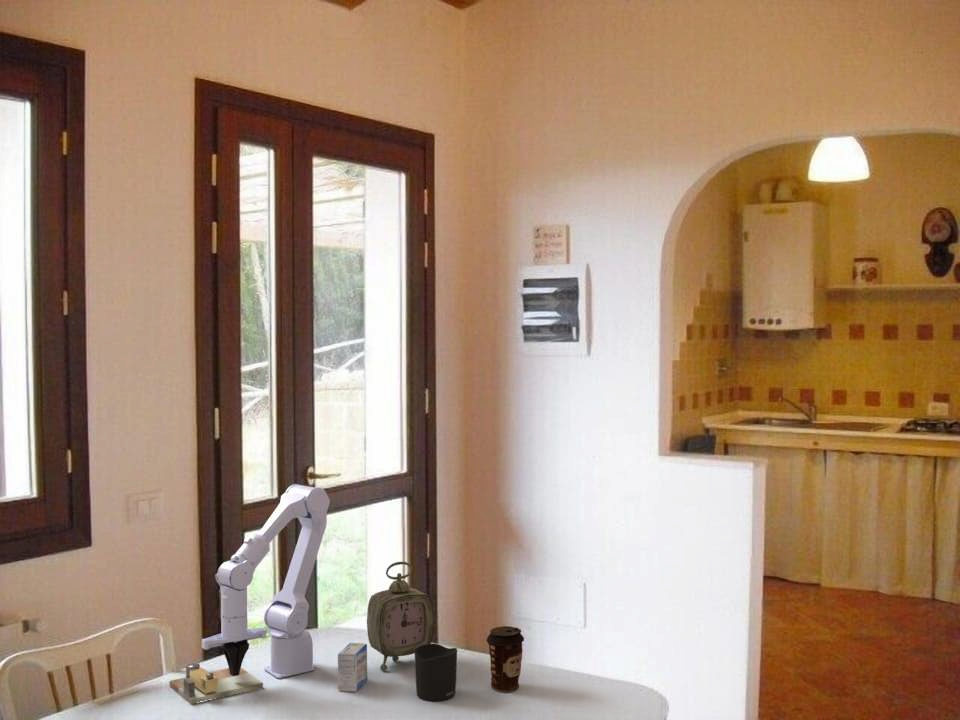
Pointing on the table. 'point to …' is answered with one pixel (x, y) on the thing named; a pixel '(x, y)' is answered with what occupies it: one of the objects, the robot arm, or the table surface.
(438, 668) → the pen holder
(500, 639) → the coffee cup
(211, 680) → the latch bar
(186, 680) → the metal latch base plate
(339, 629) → the table surface
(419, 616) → the tabletop clock
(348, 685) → the medicine box
